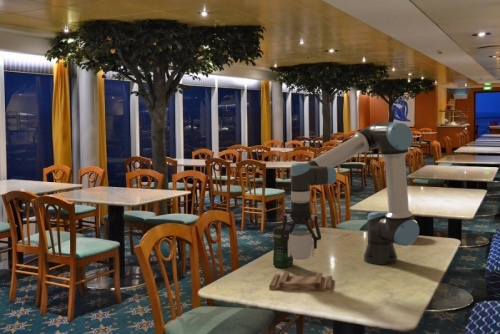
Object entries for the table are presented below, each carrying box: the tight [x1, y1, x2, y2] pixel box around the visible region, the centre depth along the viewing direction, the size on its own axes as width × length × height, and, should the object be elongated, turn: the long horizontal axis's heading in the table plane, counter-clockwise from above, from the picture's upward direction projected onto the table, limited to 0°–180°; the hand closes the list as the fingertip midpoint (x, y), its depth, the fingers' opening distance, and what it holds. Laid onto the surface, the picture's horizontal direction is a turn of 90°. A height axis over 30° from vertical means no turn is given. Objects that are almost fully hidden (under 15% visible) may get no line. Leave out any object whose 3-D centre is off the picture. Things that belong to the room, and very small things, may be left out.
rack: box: [268, 271, 333, 292], centre depth 224 cm, size 24×16×3 cm, turn 79°
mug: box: [289, 230, 313, 261], centre depth 223 cm, size 13×9×10 cm
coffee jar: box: [272, 224, 294, 268], centre depth 252 cm, size 10×8×19 cm
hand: (301, 256), depth 224 cm, fingers closed on mug, 9 cm apart
